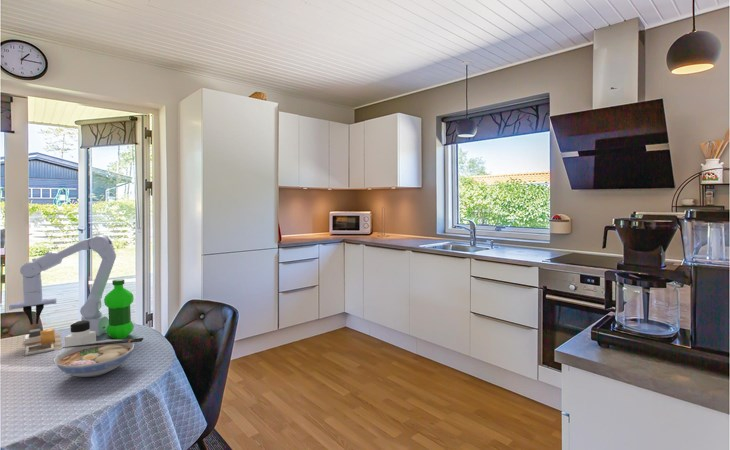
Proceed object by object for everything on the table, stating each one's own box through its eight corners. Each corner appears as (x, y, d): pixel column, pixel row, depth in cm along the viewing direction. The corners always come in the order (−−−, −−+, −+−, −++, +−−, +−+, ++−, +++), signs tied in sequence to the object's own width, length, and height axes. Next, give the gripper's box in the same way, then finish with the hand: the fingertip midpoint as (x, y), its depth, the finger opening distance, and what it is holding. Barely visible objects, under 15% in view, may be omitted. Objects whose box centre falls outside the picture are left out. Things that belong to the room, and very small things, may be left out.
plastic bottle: (102, 342, 158) (99, 283, 156) (112, 333, 168) (110, 278, 166) (129, 340, 160) (127, 282, 158) (137, 332, 170) (135, 277, 169)
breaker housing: (44, 340, 156) (44, 335, 155) (25, 344, 152) (25, 339, 152) (44, 336, 160) (44, 331, 160) (25, 339, 156) (25, 335, 156)
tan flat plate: (62, 352, 147) (61, 348, 147) (23, 360, 140) (23, 356, 140) (60, 336, 165) (60, 332, 165) (26, 342, 158) (26, 338, 157)
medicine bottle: (97, 348, 151) (95, 319, 151) (82, 355, 144) (80, 324, 144) (80, 347, 152) (79, 318, 151) (64, 354, 145) (63, 324, 144)
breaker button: (40, 336, 156) (40, 330, 155) (29, 338, 153) (29, 332, 153) (40, 334, 158) (40, 328, 158) (29, 335, 156) (29, 330, 156)
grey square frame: (53, 350, 146) (53, 348, 146) (25, 355, 141) (25, 353, 140) (53, 343, 152) (53, 342, 152) (26, 349, 147) (26, 347, 147)
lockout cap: (58, 340, 155) (57, 329, 155) (48, 345, 151) (47, 332, 150) (48, 340, 156) (47, 328, 155) (38, 344, 151) (37, 332, 151)
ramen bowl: (34, 393, 116) (33, 367, 116) (70, 362, 138) (69, 340, 138) (126, 383, 123) (125, 358, 122) (146, 355, 145) (146, 334, 144)
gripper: (55, 286, 162) (57, 317, 163) (9, 291, 153) (11, 324, 154) (55, 289, 157) (57, 321, 158) (7, 295, 148) (9, 329, 149)
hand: (34, 323), depth 155 cm, fingers closed
